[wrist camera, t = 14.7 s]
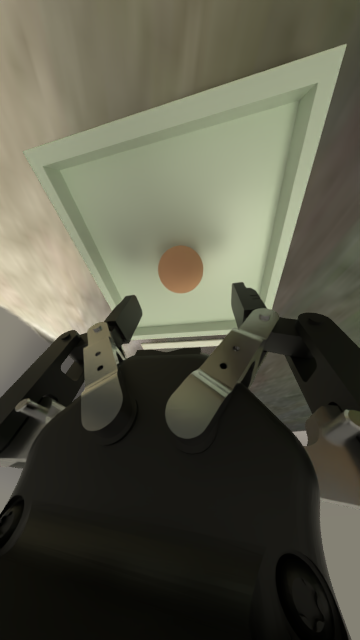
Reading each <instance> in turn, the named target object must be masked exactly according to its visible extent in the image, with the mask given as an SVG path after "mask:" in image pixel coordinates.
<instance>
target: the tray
mask: <svg viewBox="0 0 360 640" xmlns="http://www.w3.org/2000/svg"><path fill="white" fill-rule="evenodd" d="M346 45H347V44H344V45H341V46H338V47H335V48H332V49H329V50H326V51H323V52H320V53H317V54H314V55H311V56H308V57H305V58H302V59H299V60H296V61H293V62H290V63H287V64H284V65H281V66H278V67H275V68H272V69H269V70H266V71H263V72H260V73H257V74H254V75H251V76H248V77H245V78H242V79H239V80H236V81H233V82H230V83H227V84H224V85H221V86H218V87H215V88H212V89H209V90H206V91H203V92H200V93H197V94H194V95H191V96H188V97H185V98H182V99H179V100H176V101H173V102H170V103H167V104H164V105H161V106H158V107H155V108H152V109H149V110H146V111H143V112H140V113H137V114H134V115H131V116H128V117H125V118H122V119H119V120H116V121H113V122H110V123H107V124H104V125H101V126H98V127H95V128H92V129H89V130H86V131H83V132H80V133H77V134H74V135H71V136H68V137H65V138H62V139H59V140H56V141H53V142H50V143H47V144H44V145H41V146H38V147H34V148H31V149H28V150H25V151H23V153H24V155H25V157H26V159H27V160H28V162H29V164H30V166H31V167H32V169H33V171H34V173H35V175H36V176H37V178H38V180H39V182H40V183H41V185H42V187H43V189H44V191H45V192H46V194H47V196H48V198H49V199H50V201H51V203H52V205H53V207H54V208H55V210H56V212H57V214H58V215H59V217H60V219H61V221H62V223H63V224H64V226H65V228H66V230H67V231H68V233H69V235H70V237H71V239H72V240H73V242H74V244H75V246H76V247H77V249H78V251H79V253H80V255H81V256H82V258H83V260H84V262H85V263H86V265H87V267H88V269H89V271H90V272H91V274H92V276H93V278H94V279H95V281H96V283H97V285H98V287H99V288H100V290H101V292H102V294H103V295H104V297H105V299H106V301H107V303H108V304H109V306H110V308H111V310H112V311H113V310H114V308H115V307H116V306H117V305H118V304H119V303H121V301H122V300H123V299H124V297H125V296H129V295H135V296H136V297H137V299H138V302H139V304H140V306H141V309H142V317H141V319H140V322H139V324H138V326H137V328H136V330H135V332H134V334H133V336H132V338H131V340H141V339H158V338H175V337H191V336H208V335H225V334H228V333H229V332H230V331H231V330H232V329H233V328H237V329H238V327H237V324H236V320H235V317H234V314H233V311H232V307H231V292H232V283H238V282H243V283H244V285H245V287H246V288H252V289H254V290H256V292H257V293H258V295H259V296H260V299H262V301H263V303H264V304H265V306H266V307H267V309H271V310H272V306H273V303H274V299H275V296H276V292H277V289H278V285H279V282H280V278H281V275H282V271H283V268H284V264H285V260H286V257H287V253H288V250H289V246H290V243H291V239H292V236H293V232H294V229H295V225H296V222H297V218H298V215H299V211H300V208H301V204H302V200H303V197H304V193H305V190H306V186H307V183H308V179H309V176H310V172H311V169H312V165H313V162H314V158H315V155H316V151H317V148H318V144H319V141H320V137H321V133H322V130H323V126H324V123H325V119H326V116H327V112H328V109H329V105H330V102H331V98H332V95H333V91H334V88H335V84H336V81H337V77H338V74H339V70H340V66H341V63H342V59H343V56H344V52H345V49H346ZM180 245H182V246H187V247H190V248H192V249H193V250H195V251H196V252H197V253H198V255H199V256H200V258H201V260H202V263H203V276H202V279H201V281H200V283H199V284H198V286H197V287H196V288H194V289H193V290H192V291H190V292H187V293H174V292H172V291H170V290H168V289H167V288H166V287H165V286H164V285H163V284H162V282H161V280H160V278H159V274H158V265H159V261H160V259H161V257H162V255H163V254H164V253H165V252H166V251H167V250H168V249H170V248H172V247H174V246H180Z"/></svg>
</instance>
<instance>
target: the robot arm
mask: <svg viewBox="0 0 360 640" xmlns="http://www.w3.org/2000/svg"><path fill="white" fill-rule="evenodd" d="M231 307H232V311H233V314H234V317H235V320H236V324H237V327H238V329H237V328H233V329H232V330H231V331H230V332H229V333H228V335H227V336H226V337H225V338H224V339H223V341H222V342H221V343H220V344H219V345H218V346H217V348H216V349H215V350H214V351H213V352H212V354H211V355H208V354H205V353H201V348H183V349H179V350H175V351H171V352H161V351H156V350H137V352H136V354H135V355H134V356H131V357H129V358H127V357H126V354H125V352H124V349H123V347H122V346H121V345H122V344H127V343H129V342H130V340H131V338H132V336H133V334H134V332H135V330H136V328H137V326H138V324H139V322H140V319H141V317H142V309H141V306H140V304H139V302H138V299H137V297H136V296H135V295H129V296H125V297H124V299H123V300H122V301H121V303H119V304H118V305H117V306H116V307H115V308H114V310H113V311H112V312H111V313H110V315H109V316H108V317H107V318H106V320H105V321H104V322H99V323H97V324H95V325H93V326H91V327H90V328H89V329H88V331H87V333H85V334H81V335H79V334H78V333H77V331H75V330H71V331H68V332H66V333H64V334H62V335H61V336H59V337H58V338H57V339H56V340H55V341H54V342H53V343H52V345H51V346H50V347H49V348H48V349H47V350H46V351H45V352H44V353H43V354H42V355H41V356H40V357H39V358H38V359H37V360H36V361H35V362H34V363H33V364H32V365H31V366H30V368H29V369H28V370H27V371H26V372H25V373H24V374H23V375H22V376H21V377H20V378H19V379H18V380H17V381H16V382H15V383H14V384H13V385H12V386H11V387H10V388H9V389H8V390H7V391H6V393H5V394H4V395H3V396H2V397H1V398H0V467H8V466H9V467H15V468H23V471H22V473H21V476H20V478H19V481H18V483H17V485H16V487H15V489H14V491H13V493H12V495H11V497H10V499H9V501H8V503H7V505H6V506H5V508H4V510H3V511H2V512H1V514H0V640H351V637H350V635H349V632H348V630H347V627H346V624H345V621H344V619H343V616H342V613H341V610H340V608H339V605H338V602H337V599H336V597H335V593H334V591H333V587H332V584H331V581H330V577H329V574H328V570H327V565H326V561H325V556H324V551H323V546H322V538H321V531H320V501H323V502H327V503H332V504H336V505H342V506H346V507H350V508H356V509H360V348H359V347H358V346H357V345H356V344H355V343H354V342H353V341H352V340H351V339H350V338H349V337H348V336H347V335H346V334H345V333H344V332H343V331H342V330H341V329H340V328H339V327H338V326H337V325H336V324H335V323H334V322H333V321H332V320H331V319H330V318H328V317H326V316H324V315H321V314H317V313H303V314H300V315H299V316H298V318H297V320H295V319H286V318H281V317H279V315H278V313H277V312H275V311H273V310H271V309H267V307H266V306H265V304H264V303H263V301H262V299H260V296H259V295H258V293H257V292H256V290H254V289H252V288H246V287H245V285H244V283H243V282H238V283H232V292H231ZM268 352H273V353H278V354H283V355H285V357H286V359H287V361H288V363H289V366H290V368H291V370H292V372H293V374H294V376H295V378H296V380H297V382H298V385H299V387H300V389H301V391H302V393H303V395H304V397H305V399H306V401H307V404H308V406H309V408H310V410H311V412H312V415H311V416H310V417H309V418H308V419H307V420H306V424H305V428H306V432H307V436H308V444H307V446H302V444H301V442H300V441H299V440H298V438H297V437H296V436H295V435H294V434H293V433H292V431H291V430H290V429H289V428H288V427H286V426H285V425H284V424H283V423H282V422H281V421H280V420H279V419H278V418H277V417H276V416H275V415H274V414H273V413H272V412H271V411H270V410H269V409H268V408H267V407H266V406H265V405H264V404H263V403H262V402H261V401H260V400H259V399H258V398H257V397H256V396H255V395H254V394H253V393H252V392H251V391H250V390H249V389H250V387H251V385H252V383H253V381H254V378H255V376H256V374H257V372H258V370H259V368H260V366H261V364H262V363H263V361H264V359H265V357H266V355H267V353H268ZM68 355H69V356H70V357H71V358H72V359H73V360H74V363H73V364H72V366H71V367H70V368H69V370H68V371H67V373H66V374H64V373H63V372H62V371H61V364H62V363H63V362H64V360H65V359H66V358H67V356H68ZM84 380H85V390H84V391H83V392H82V394H81V396H79V397H78V398H77V399H75V400H74V401H73V399H74V398H75V396H76V394H77V393H78V391H79V389H80V387H81V386H82V384H83V382H84ZM72 401H73V402H72Z"/></svg>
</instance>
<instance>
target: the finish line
mask: <svg viewBox="0 0 360 640" xmlns="http://www.w3.org/2000/svg"><path fill="white" fill-rule="evenodd" d="M222 341H223V339H210V340H192V341H174V342H156V343H141V345H142V347H143V349H162V348H183V347H204V346H218V345H219V344H220V343H221V342H222Z"/></svg>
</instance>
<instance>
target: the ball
mask: <svg viewBox="0 0 360 640" xmlns="http://www.w3.org/2000/svg"><path fill="white" fill-rule="evenodd" d="M158 274H159V278H160V280H161V282H162V284H163V285H164V286H165V287H166V288H167V289H168V290H170V291H172V292H174V293H187V292H190V291H192V290H193V289H194V288H196V287H197V286H198V284H199V283H200V281H201V279H202V276H203V263H202V260H201V258H200V256H199V255H198V253H197V252H196V251H195V250H193V249H192V248H190V247H187V246H182V245H180V246H174V247H172V248H170V249H168V250H167V251H166V252H165V253H164V254H163V255H162V257H161V259H160V261H159V265H158Z"/></svg>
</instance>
